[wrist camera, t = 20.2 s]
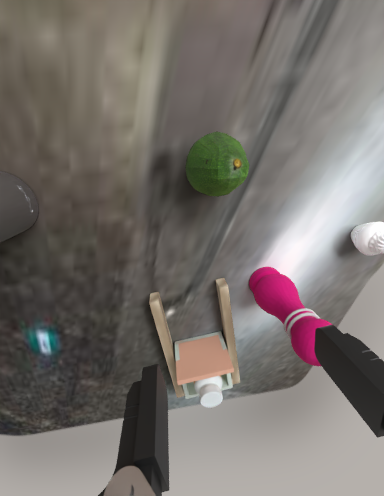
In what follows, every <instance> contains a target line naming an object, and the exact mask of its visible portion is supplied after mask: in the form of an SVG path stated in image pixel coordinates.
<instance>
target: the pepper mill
mask: <svg viewBox="0 0 384 496" xmlns="http://www.w3.org/2000/svg"><path fill="white" fill-rule="evenodd" d="M249 286H250V289H251V291H252V292H253V293H254V298H255V301H256V303H257V304H258V305H259V306H260V307H261V309H263V310H264V311H266V312H267V313H269V314H271V315H274V316H276V317H277V318H278V319H279V320H280V321H281V322H282V323H283V324H284V330H285V332H286V333H287V334H288V336H289V338H290V339H291V343H292V347H293V349H294V351H295V352H296V354H297V355H298V356H299V357H300V358H301V359H302V360H303V361H305V362H306V363H308V364H311V365H314V366H321V365H320V363H319V362H318V360H317V358H316V355H315V351H314V347H315V330H316V328H319V327H324V326H328V325H332V324H331V323H329V322H328V321H326V320H323V319H320V318H319V316H318V315H316V314H315V312H314V311H312V310H310V309H306V308H305V307H304V306H303V304H302V303H301V301H300V299H299V295H298V291H297V289H296V287H295V285H294V283H293V282H292V281H291V280H290V279H289V278H288V277H287V276H285V275H282V274H280V273H279V272H278V271H277V270H276V269H274V268H271V267H263V268H260V269H258V270H257V271H255V272H254V273H253V274H252V276H251V278H250V281H249Z"/></svg>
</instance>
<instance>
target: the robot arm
mask: <svg viewBox="0 0 384 496" xmlns="http://www.w3.org/2000/svg"><path fill="white" fill-rule="evenodd" d="M38 211H39V210H38V203H37V200H36V197H35V195H34V193H33V192H32V190H31V189H30V188H29V187H28V185H26V184H25V183H24V182H23V181H22V180H20V179H19V178H17V177H16V176H14V175H11V174H9V173H6V172H2V171H0V243H1V242H3V241H5V240H7V239H9V238H11V237H13V236H15V235H17V234H19V233H21V232H23V231H26V230H27V229H29V228H30V227H31V226H32V225H33V224H34V223H35V222H36V219H37V217H38ZM314 351H315V355H316V358H317V360H318V362H319V363H320V365H321V366H322V367H323V368H324V370H325V371H326V372H327V373H328V375H329V376H330V377H331V379H332V380H333V381H334V382H335V384H336V385H337V386H338V388H339V389H340V390H341V391H342V393H343V394H344V395H345V397H346V398H347V399H348V400H349V402H350V403H351V404H352V405H353V407H354V408H355V409H356V410H357V412H358V413H359V414H360V416H361V417H362V418H363V420H364V421H365V422H366V423H367V425H368V426H369V427H370V429H371V430H372V431H373V432H374V434H375V435H376V436H377V437H381V436H384V361H383V360H381V359H379V357H378V356H377V355H376V354H375V353H374V352H372V351H370V349H369V348H368V347H367V346H366V345H365V344H364V343H362V342H361V341H360V340H358V339H357V338H355V337H353V336H351V335H350V334H348V333H346V334H343V333H341V331H339V330H338V329H337V328H336V327H335V326H334V325H328V326H324V327H319V328H316V330H315V347H314ZM168 490H169V456H168V399H167V389H166V384H165V381H164V378H163V375H162V372H161V368H160V365H159V364H156V365H152V366H148V367H144V368H143V371H142V381H138V382H134V383H133V384H132V386H131V388H130V390H129V392H128V394H127V400H126V410H125V413H124V421H123V426H122V433H121V439H120V446H119V452H118V459H117V464H116V469H115V471H114V474H113V477H112V478H111V480H110V481H109V483H108V485H107V486H106V488H105V489H104V490H103V492H101V493H100V494H99V495H98V496H162V494H161V493H162V492H164V491H168Z"/></svg>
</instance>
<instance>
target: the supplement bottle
mask: <svg viewBox="0 0 384 496" xmlns="http://www.w3.org/2000/svg"><path fill="white" fill-rule="evenodd" d="M194 388H195V390H196V392H197V393H198V394H199V397H200V402H201V404H202V405H203V406H205V407H215V406H217V405H219V404H220V403H221V402H222V400H223V396H222V391H221V388H222V378H221V375H219V376H215V377H211V378H207V379H203V380H198V381H194Z"/></svg>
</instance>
